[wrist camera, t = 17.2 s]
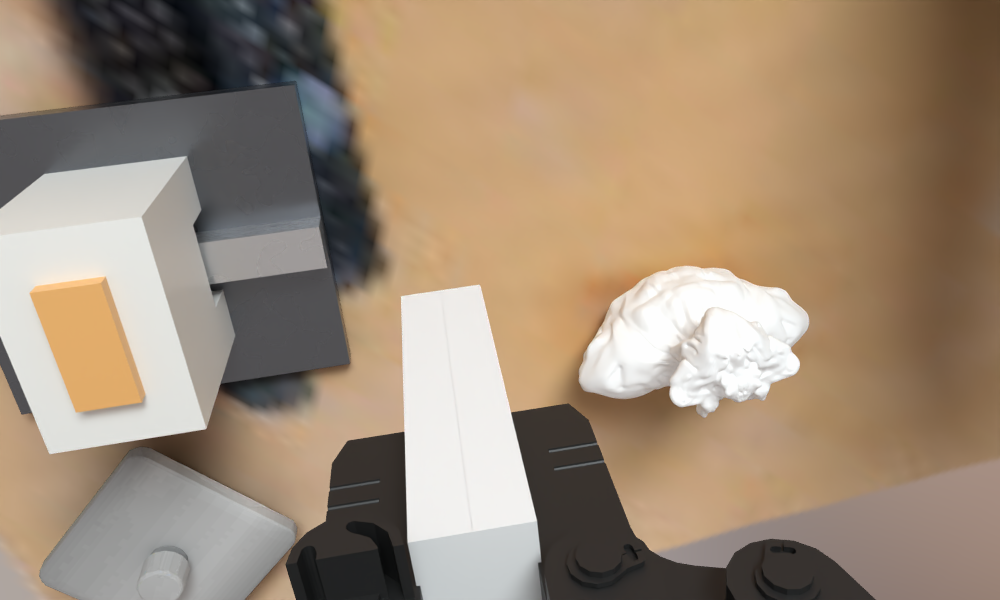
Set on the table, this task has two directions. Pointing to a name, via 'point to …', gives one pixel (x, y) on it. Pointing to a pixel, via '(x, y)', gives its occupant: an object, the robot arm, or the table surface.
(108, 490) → the light switch
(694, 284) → the bust
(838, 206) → the table surface
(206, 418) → the block
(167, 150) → the mounting plate
